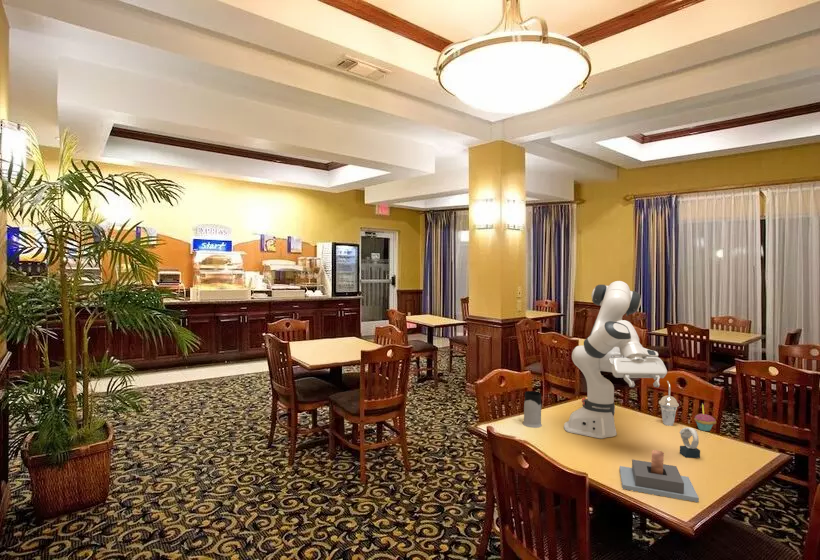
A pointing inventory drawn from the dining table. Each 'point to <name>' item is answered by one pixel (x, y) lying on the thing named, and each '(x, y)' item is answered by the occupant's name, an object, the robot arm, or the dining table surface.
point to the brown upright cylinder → (657, 462)
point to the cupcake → (704, 421)
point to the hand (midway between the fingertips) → (644, 386)
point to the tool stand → (657, 481)
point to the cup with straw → (668, 408)
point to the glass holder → (532, 409)
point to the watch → (688, 449)
